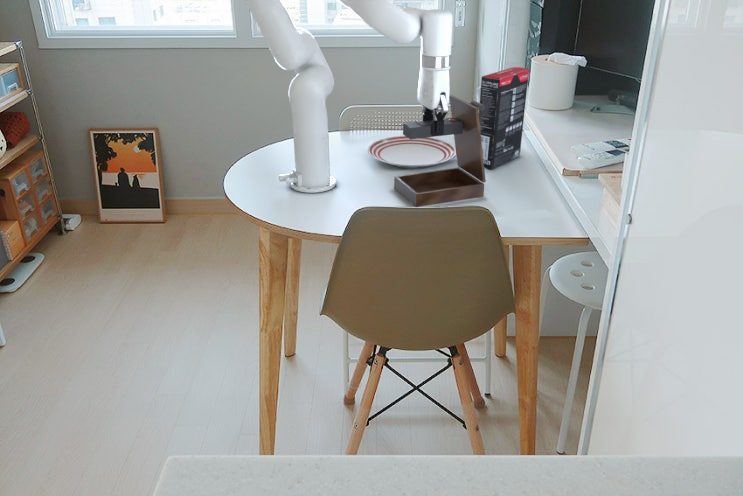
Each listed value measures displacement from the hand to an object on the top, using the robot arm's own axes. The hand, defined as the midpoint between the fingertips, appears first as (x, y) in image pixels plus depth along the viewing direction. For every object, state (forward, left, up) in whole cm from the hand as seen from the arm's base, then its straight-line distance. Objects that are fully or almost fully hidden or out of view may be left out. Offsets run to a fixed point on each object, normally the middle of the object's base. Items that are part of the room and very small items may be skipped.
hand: (432, 131), depth 185 cm
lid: (+8, -3, -2) cm, 9 cm away
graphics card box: (+30, +15, -17) cm, 38 cm away
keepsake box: (+1, -3, -17) cm, 17 cm away
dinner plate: (+7, +28, -17) cm, 34 cm away
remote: (0, 0, -1) cm, 1 cm away
